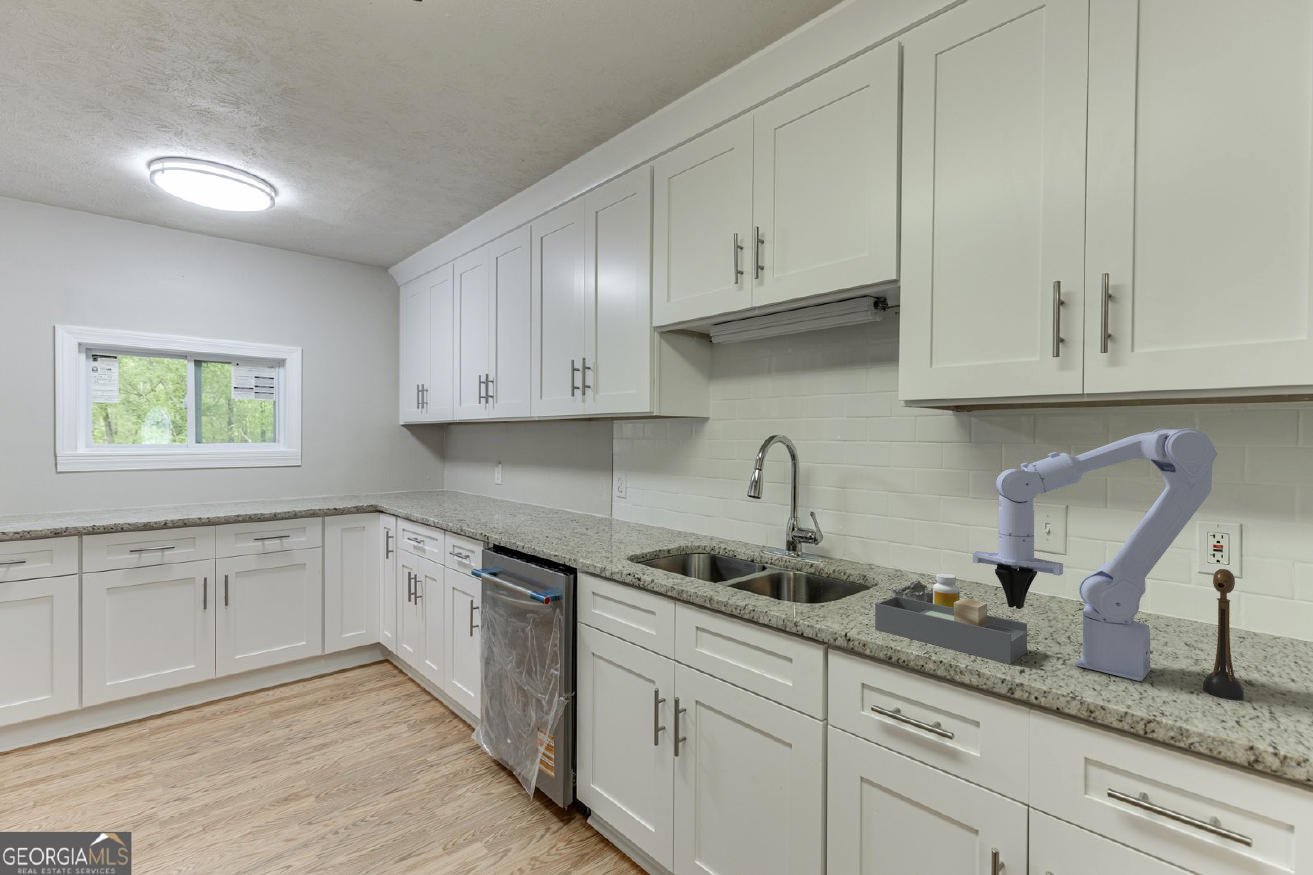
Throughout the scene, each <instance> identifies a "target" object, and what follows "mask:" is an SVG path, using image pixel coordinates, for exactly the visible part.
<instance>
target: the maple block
mask: <svg viewBox="0 0 1313 875" xmlns="http://www.w3.org/2000/svg"><path fill="white" fill-rule="evenodd" d="M987 615H988V602H983V601H979V600H975V599H974V600H973V599H969V598H961V599H960V600H959V601H956V602H954V621H957V622H962V623H966V624H971V625H975V626H980V627H984V628H985V627H986V626H987Z"/></svg>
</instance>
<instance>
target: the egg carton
mask: <svg viewBox="0 0 1313 875" xmlns="http://www.w3.org/2000/svg"><path fill="white" fill-rule="evenodd" d="M890 592H892V597H894V596H899V597H904V598H909V599H914V600H918V601H923V602H928V603H933V587H932V588H930V590H929V589H928V586H927V584H926V583H922V582H921V580H915V581H911V582H910V583H909V585H908V584H906V585H905V584H904V586H902V587H896V588H894V589H893V588H892V589H890Z"/></svg>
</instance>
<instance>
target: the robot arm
mask: <svg viewBox="0 0 1313 875" xmlns="http://www.w3.org/2000/svg"><path fill="white" fill-rule="evenodd" d="M1047 456H1048V457H1047V458H1044V459H1043V458H1042V459H1040V460H1038V461H1037V460H1036V461H1034V462H1031V463H1027V462H1023V463H1021V464H1020V469H1017V468H1016V469H1015V468H1009V469H1006V470H1003V471H1002V472H1000V474H999V475H998V476H997V477H996V478H997V479H996V481H995V482H994V488H995V490H996V492H997V493H998V496H999V498H998V511H997V512H998V515H997V516H998V520H997V521H998V523H997V524H998V525H997V526H998V528H997V530H998V531H997V532H998V534H997V536H998V537H997V538H998V539H997V540H998V542H997V544H998V545H997V548H998V549H997V551H998V552H997V553H996V552H986V551H985V552H984V551H973V552H972V563H975V564H986V565H991V566H996V568H995V569H994V573H995V575H996V577H997V580H998V581H999V582H1000V585H1001V586H1002V589H1003V591H1004V594H1005V598H1006V601H1007V602H1006V603H1007V607H1008V608H1014V607H1015V609H1017V610H1021V609H1023V608H1024V606H1025V601H1026V598H1027V594H1028V592H1029V589H1030V587H1031V585H1032V583H1033V581H1034V580H1035V577H1036V576H1037V575H1038V573H1043V574H1044V573H1045V574H1052V575H1054V576H1062V575H1063V574H1064V563H1063V562H1057V561H1052V560H1048V559H1047V560H1046V559H1041V558H1036V557H1035V510H1034V499H1035V498H1036V497H1037V495H1038V494H1045V493H1048V492H1051V491H1055V490H1058V489H1061V488H1064V487H1067V486H1071V485H1075V484H1076V483H1077V484H1078V483H1079V482H1080V481H1081V479H1082V477H1083V475H1084V474H1085V473H1087V472H1091V471H1094V470H1099V469H1102V468H1105V467H1108V466H1112V465H1115V464H1116V465H1117V464H1119V463H1123V462H1127V461H1130V460H1133V459H1138V460H1139V459H1141V460H1149V461H1151V463H1152V464H1153V465H1154V466H1155V467H1157V469H1158V470H1159V472H1160V474H1161V476H1162V478H1163V480H1164V483H1165V489H1164V490H1163V491H1162V492H1161V494H1160V495H1159V496H1158V497H1157V499H1156V500H1155V502H1154V503H1153V504H1152V506H1151V507H1150V508H1149V510H1148V511H1147V512H1146V514H1145V515H1144V517H1143V518H1142V519H1141V521H1140V522H1139V523H1138V524H1137V525H1136V527H1135V529H1134V530H1133V531H1132V532H1131V534H1130V535H1129V536H1128V537H1127V539H1126V540H1125V541H1124V543H1123V545H1121V547H1120V549H1119V550H1118V551H1117V553H1116V554H1115V555H1114V557H1113V558H1112V559H1110V560H1108V561H1107V562H1105V563H1103V564H1101V565H1100V566H1099V567H1098V568H1097V570H1096V571H1095V572H1094V573H1092V574H1089V575H1087V576H1086V577H1084V578H1083V579H1082V580H1081V582H1080V583H1079V584H1078V586H1079V587H1078V594H1079V596H1080V598H1081V600H1082V601H1083V602H1084V603H1085V607H1084V608H1083V610H1082V656H1080V658H1079V659H1077V660H1076V661H1075V662H1074V663H1075V664H1074V665H1075V666H1077V667H1081V668H1085V669H1088V670H1093V671H1097V672H1100V673H1101V672H1102V673H1105V674H1110V675H1112V676H1113V675H1114V676H1117V677H1121V678H1125V679H1128V680H1134V681H1138V682H1142V681H1143V680H1144V679H1145V678H1146V676H1147V675H1148V674H1149V673H1150V671H1151V670H1152V667H1151V629H1150V626H1149V625H1147V624H1145V623H1141V622H1138V621H1135V620H1134V617H1136V615H1138V613H1139V610H1140V602H1141V598H1142V597H1143V595H1144V594H1145V592H1146V577H1147V576H1149V573H1150V572H1151V571H1152V570H1153V568H1154V567H1155V565H1157V563H1158V562H1159V560H1160V559H1161V558H1162V556H1163V555H1164V554H1165V552H1167V550H1168V549H1169V547H1170V546H1171V545H1172V544H1173V543H1174V541H1175V540H1176V538H1177V537H1178V535H1179V534H1181V532H1182V531H1183V529H1184V528H1185V527H1186V525H1187V524H1188V523H1189V522H1190V520H1191V519H1192V518H1193V516H1194V514H1195V513H1196V512H1197V511H1198V510H1199V508H1200V507H1201V506H1202V504H1203V503H1204V502H1205V500H1207V498H1208V496H1209V495H1210V494H1211V491H1212V484H1213V481H1212V480H1213V464H1214V461H1215V460H1216V458H1217V457H1218V452H1217V450H1216V448H1215V446H1214V444H1213V442H1212V441H1211V438H1210V437H1209V436H1208V435H1207V434H1206V433H1205V432H1203V431H1201V430H1199V429H1196V428H1181V429H1172V428H1165V427H1164V428H1163V427H1162V428H1157V429H1155V430H1153V431H1151V432H1149V431H1147V432H1143V433H1138V434H1133V435H1130V436H1128V437H1125V438H1121V439H1118V440H1115V441H1113V442H1111V443H1108V444H1105V445H1103V446H1100V447H1098V448H1094V449H1092V450H1089V451H1086V452H1083V453H1080V454H1078V455H1076V456H1075V455H1072V454H1069V453H1066V452H1061V453H1058V452H1056V451H1053V452H1050V453H1048V454H1047Z"/></svg>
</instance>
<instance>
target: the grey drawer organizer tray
mask: <svg viewBox="0 0 1313 875" xmlns="http://www.w3.org/2000/svg"><path fill="white" fill-rule="evenodd" d="M874 609H875V611H874V613H875V614H874V617H875V618H874V619H875V620H874V622H875V623H874V624H875V628H874V630H876V631H879V632H883V633H887V634H891V635H895V636H899V637H902V638H907V639H910V640H915V641H919V642H922V643H925V644H930V645H934V646H937V647H940V648H941V647H942V648H945V649H949V650H953V651H957V652H960V653H964V654H967V655H968V654H969V655H972V656H976V657H980V658H983V659H988V660H991V661H993V662H998V663H1002V664H1006V665H1012V664H1013V663H1015V661H1017V660H1018V659H1020V658H1022V656H1024V655H1025V654H1026V653H1028V623H1027V622H1022V621H1018V620H1012V619H1008V618H1003V617H998V616H994V615H989V614H987V626H986V627H985V628H984V627H980V626H975V625H971V624H966V623H962V622H957V621H954V608H952V607H947V606H942V605H937V604H933V602H923V601H918V600H914V599H909V598H904V597H899V596H894V597H893V596H892V597H889V598H886V599H883V600H882V601H879V602H876V603H875V607H874Z"/></svg>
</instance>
